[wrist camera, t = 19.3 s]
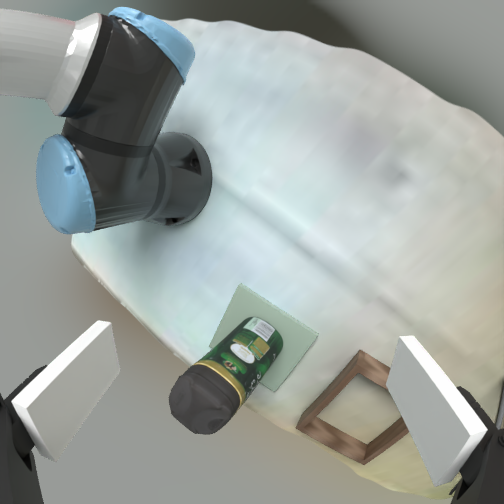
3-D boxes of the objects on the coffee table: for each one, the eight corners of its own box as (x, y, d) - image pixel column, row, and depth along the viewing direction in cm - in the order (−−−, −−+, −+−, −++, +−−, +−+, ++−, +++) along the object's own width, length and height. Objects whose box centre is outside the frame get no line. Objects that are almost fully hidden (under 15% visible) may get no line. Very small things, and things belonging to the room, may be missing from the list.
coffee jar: (262, 374, 47) (202, 448, 31) (226, 345, 49) (154, 408, 33) (294, 338, 43) (235, 418, 27) (252, 306, 45) (176, 369, 29)
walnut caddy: (302, 413, 47) (295, 427, 43) (360, 349, 40) (356, 364, 36) (367, 449, 43) (364, 465, 39) (432, 393, 36) (434, 410, 32)
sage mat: (211, 344, 51) (208, 346, 51) (241, 283, 46) (238, 284, 45) (276, 389, 48) (274, 392, 47) (318, 333, 42) (317, 336, 41)
